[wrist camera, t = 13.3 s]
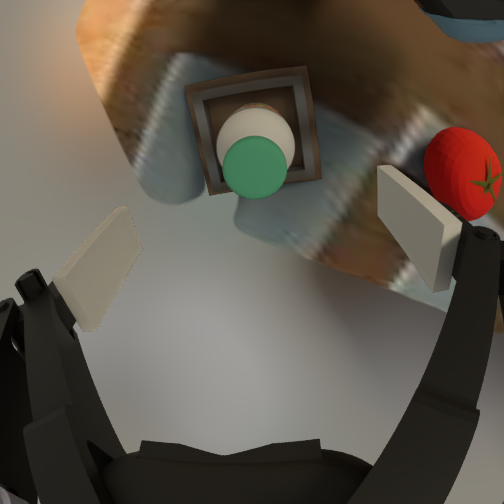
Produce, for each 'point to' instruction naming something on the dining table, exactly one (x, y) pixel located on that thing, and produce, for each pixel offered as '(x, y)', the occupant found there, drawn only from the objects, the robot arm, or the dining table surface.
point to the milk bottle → (255, 150)
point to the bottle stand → (256, 91)
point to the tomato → (463, 172)
